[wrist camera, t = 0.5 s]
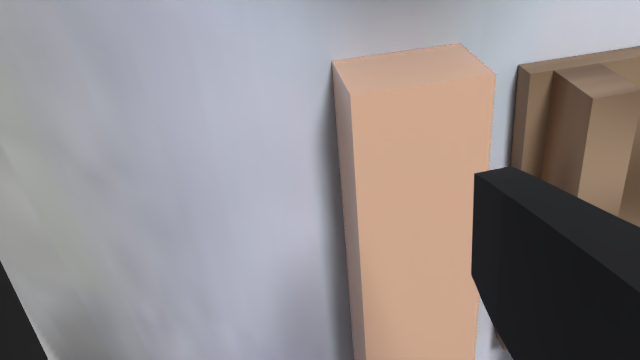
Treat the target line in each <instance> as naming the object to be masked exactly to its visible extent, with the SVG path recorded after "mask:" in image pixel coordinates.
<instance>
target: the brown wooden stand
mask: <svg viewBox="0 0 640 360" xmlns="http://www.w3.org/2000/svg"><path fill="white" fill-rule="evenodd" d="M511 166H512V167H514V168H517V169H519V170H522V171H524V172H526V173H528V174H531V175H533V176H535V177H537V178H539V179H541V180H543V181H545V182H547V183H550V184H552V185H554V186H556V187H558V188H560V189H562V190H564V191H566V192H568V193H570V194H572V195H574V196H576V197H578V198H580V199H582V200H584V201H586V202H588V203H590V204H592V205H594V206H596V207H598V208H600V209H602V210H604V211H606V212H608V213H611V214H613V215H615V216H617V217H619V218H621V219H623V220H625V221H627V222H629V223H632V224H634V225H636V226H638V227H640V46H638V47H632V48H625V49H619V50H612V51H606V52H599V53H593V54H586V55H580V56H573V57H567V58H560V59H554V60H547V61H541V62H534V63H528V64H521V65H519V69H518V81H517V93H516V104H515V116H514V128H513V140H512V151H511V163H510V167H511ZM496 337H497V338H498V340H499V342H500V344H501V345H502V347H503V349H504V350H505V349H507V348H506V346H505V344H504V343H503V341H502V339H501V338H500V336H499V334H498V333H497V331H496Z"/></svg>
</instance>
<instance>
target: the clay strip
mask: <svg viewBox="0 0 640 360" xmlns="http://www.w3.org/2000/svg"><path fill="white" fill-rule="evenodd" d="M332 71H333V84H334V98H335V111H336V124H337V138H338V151H339V164H340V178H341V191H342V204H343V218H344V231H345V244H346V257H347V271H348V284H349V297H350V311H351V324H352V337H353V351H354V360H475V349H476V335H477V321H478V308H479V292H478V290H477V287H476V285H475V283H474V280H473V278H472V276H471V261H472V228H473V196H474V173H479V172H484V171H489V159H490V146H491V132H492V119H493V105H494V91H495V78H496V74H495V73H494V72H493V71H492V70H491V69H490V68H488V67H487V66H486V65H485V64H484V63H483V62H482V61H480V60H479V59H478V58H477V57H476V56H475V55H473V54H472V53H471V52H470V51H469V50H468V49H467V48H465V47H464V46H463V45H462V44H461V43H458V44H450V45H443V46H436V47H429V48H422V49H414V50H407V51H400V52H393V53H386V54H378V55H371V56H364V57H357V58H350V59H343V60H335V61H332Z"/></svg>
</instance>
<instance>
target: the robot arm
mask: <svg viewBox="0 0 640 360" xmlns="http://www.w3.org/2000/svg"><path fill="white" fill-rule="evenodd" d="M471 276H472V278H473V280H474V283H475V285H476V287H477V290H478V292H479V294H480V297H481V299H482V301H483V304H484V306H485V308H486V310H487V312H488V314H489V317H490V319H491V321H492V323H493V325H494V327H495V329H496V331H497V333H498V334H499V336H500V338H501V339H502V341H503V343H504V344H505V346H506V348H507V349H508V351H509V353H510V354H511V356H512V358H513V359H514V360H640V227H638V226H636V225H634V224H632V223H629V222H627V221H625V220H623V219H621V218H619V217H617V216H615V215H613V214H611V213H608V212H606V211H604V210H602V209H600V208H598V207H596V206H594V205H592V204H590V203H588V202H586V201H584V200H582V199H580V198H578V197H576V196H574V195H572V194H570V193H568V192H566V191H564V190H562V189H560V188H558V187H556V186H554V185H552V184H550V183H547V182H545V181H543V180H541V179H539V178H537V177H535V176H533V175H531V174H528V173H526V172H524V171H522V170H519V169H517V168H514V167H512V166H511V167H506V168H500V169H495V170H489V171H484V172H479V173H474V196H473V228H472V261H471ZM0 360H48V358H47V356H46V354H45V352H44V350H43V348H42V346H41V344H40V342H39V340H38V338H37V335H36V333H35V331H34V329H33V327H32V325H31V323H30V321H29V319H28V317H27V315H26V313H25V311H24V309H23V307H22V305H21V303H20V300H19V298H18V296H17V294H16V292H15V290H14V288H13V286H12V284H11V282H10V280H9V278H8V276H7V274H6V272H5V270H4V268H3V265H2V263H1V261H0Z"/></svg>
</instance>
